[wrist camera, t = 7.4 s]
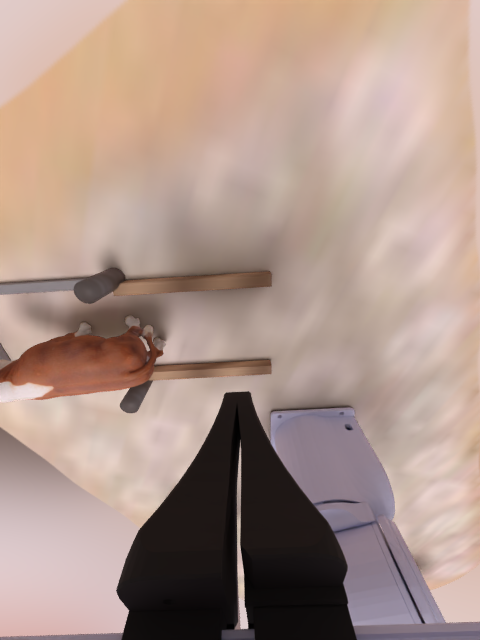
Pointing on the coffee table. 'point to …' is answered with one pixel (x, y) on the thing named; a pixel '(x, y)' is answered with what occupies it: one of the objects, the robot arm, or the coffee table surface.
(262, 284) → the pair of brown bars
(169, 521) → the robot arm
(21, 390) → the bull figurine
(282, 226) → the coffee table surface
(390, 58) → the coffee table surface
